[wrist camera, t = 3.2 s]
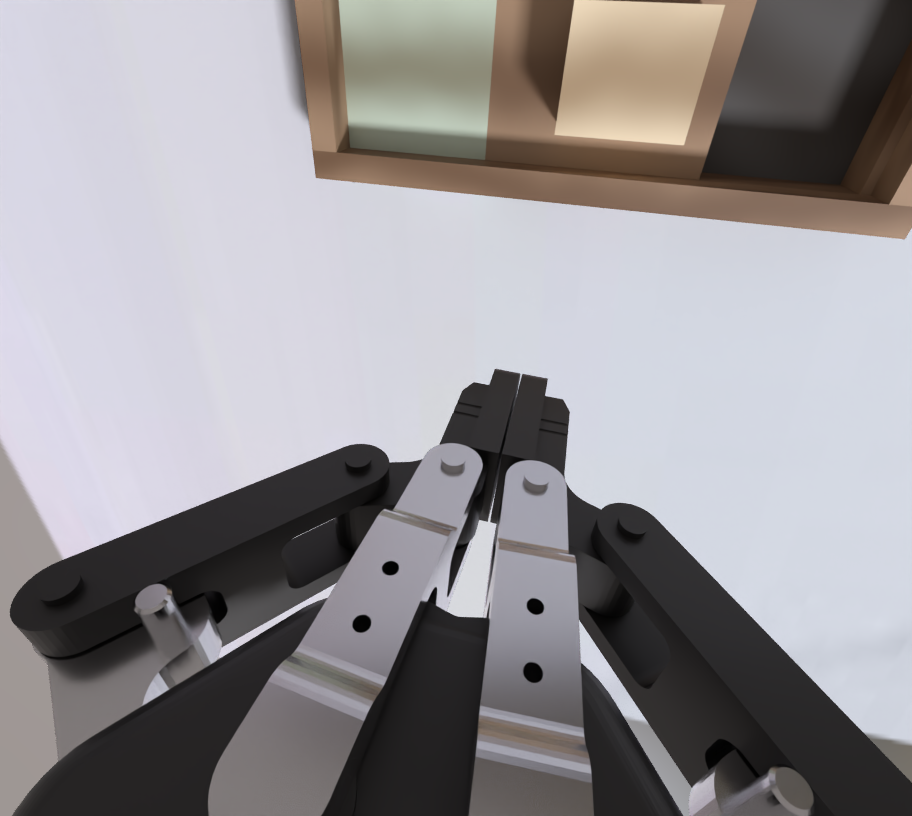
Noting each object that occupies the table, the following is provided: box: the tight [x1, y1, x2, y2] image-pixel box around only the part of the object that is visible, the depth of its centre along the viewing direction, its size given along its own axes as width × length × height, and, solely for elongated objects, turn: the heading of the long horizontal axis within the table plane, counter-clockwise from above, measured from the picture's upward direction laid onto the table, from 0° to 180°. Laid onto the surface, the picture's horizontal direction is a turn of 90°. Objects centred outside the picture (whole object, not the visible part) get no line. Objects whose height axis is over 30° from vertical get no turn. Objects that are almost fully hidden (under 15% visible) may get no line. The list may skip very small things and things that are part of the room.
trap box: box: [295, 0, 912, 239], centre depth 25 cm, size 12×32×5 cm, turn 88°
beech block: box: [554, 0, 725, 145], centre depth 23 cm, size 5×6×4 cm
